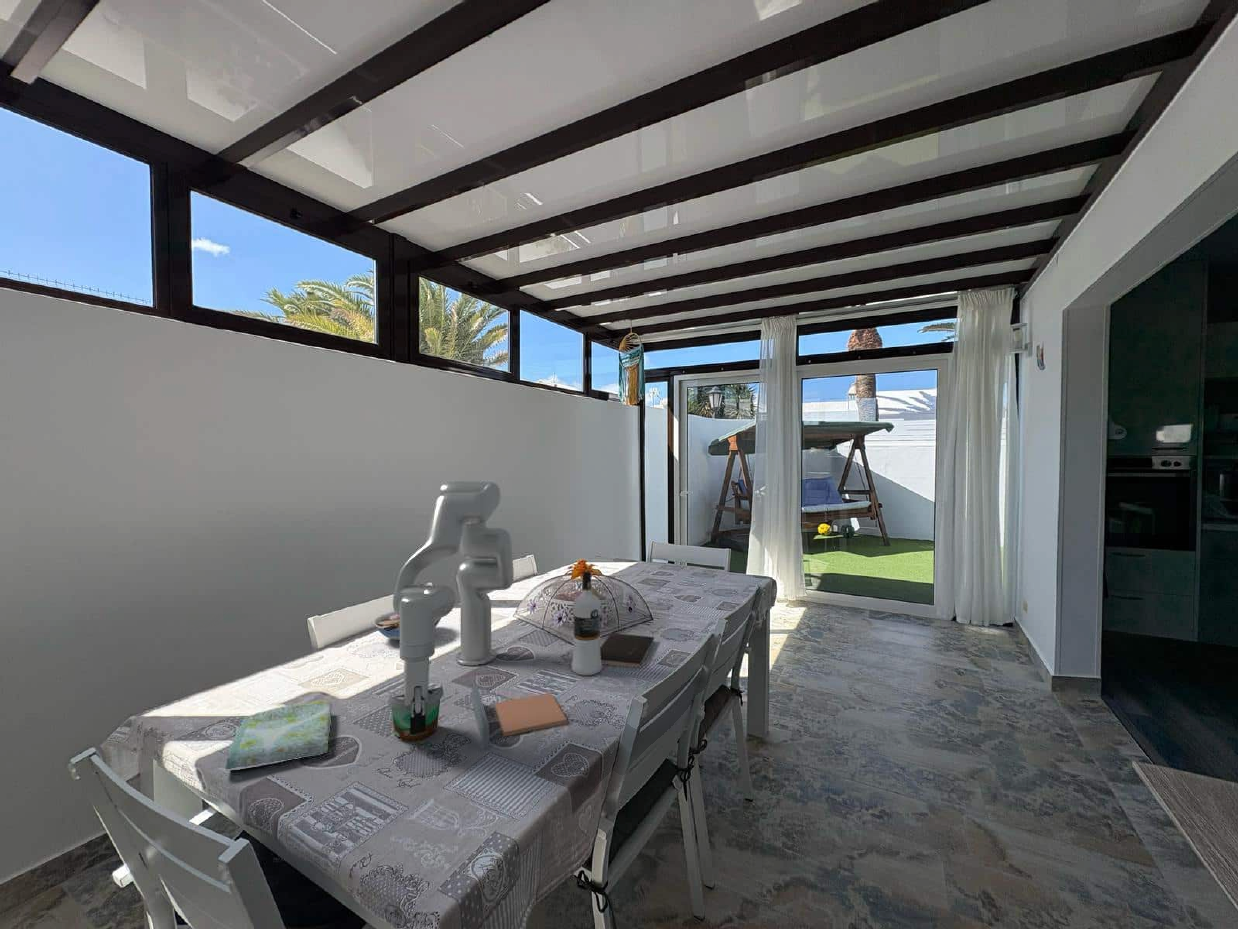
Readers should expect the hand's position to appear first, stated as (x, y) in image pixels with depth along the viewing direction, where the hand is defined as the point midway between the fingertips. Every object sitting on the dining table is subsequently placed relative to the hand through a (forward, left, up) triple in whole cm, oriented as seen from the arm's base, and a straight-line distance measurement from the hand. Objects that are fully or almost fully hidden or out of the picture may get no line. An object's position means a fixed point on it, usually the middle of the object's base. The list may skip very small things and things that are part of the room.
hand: (417, 722), depth 117 cm
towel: (-9, -28, -4) cm, 30 cm away
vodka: (-20, +48, -4) cm, 52 cm away
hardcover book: (-29, +64, -4) cm, 70 cm away
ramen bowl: (-70, -2, -4) cm, 70 cm away
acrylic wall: (0, +14, -3) cm, 14 cm away
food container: (0, 0, -4) cm, 4 cm away
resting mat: (0, +26, -3) cm, 26 cm away
